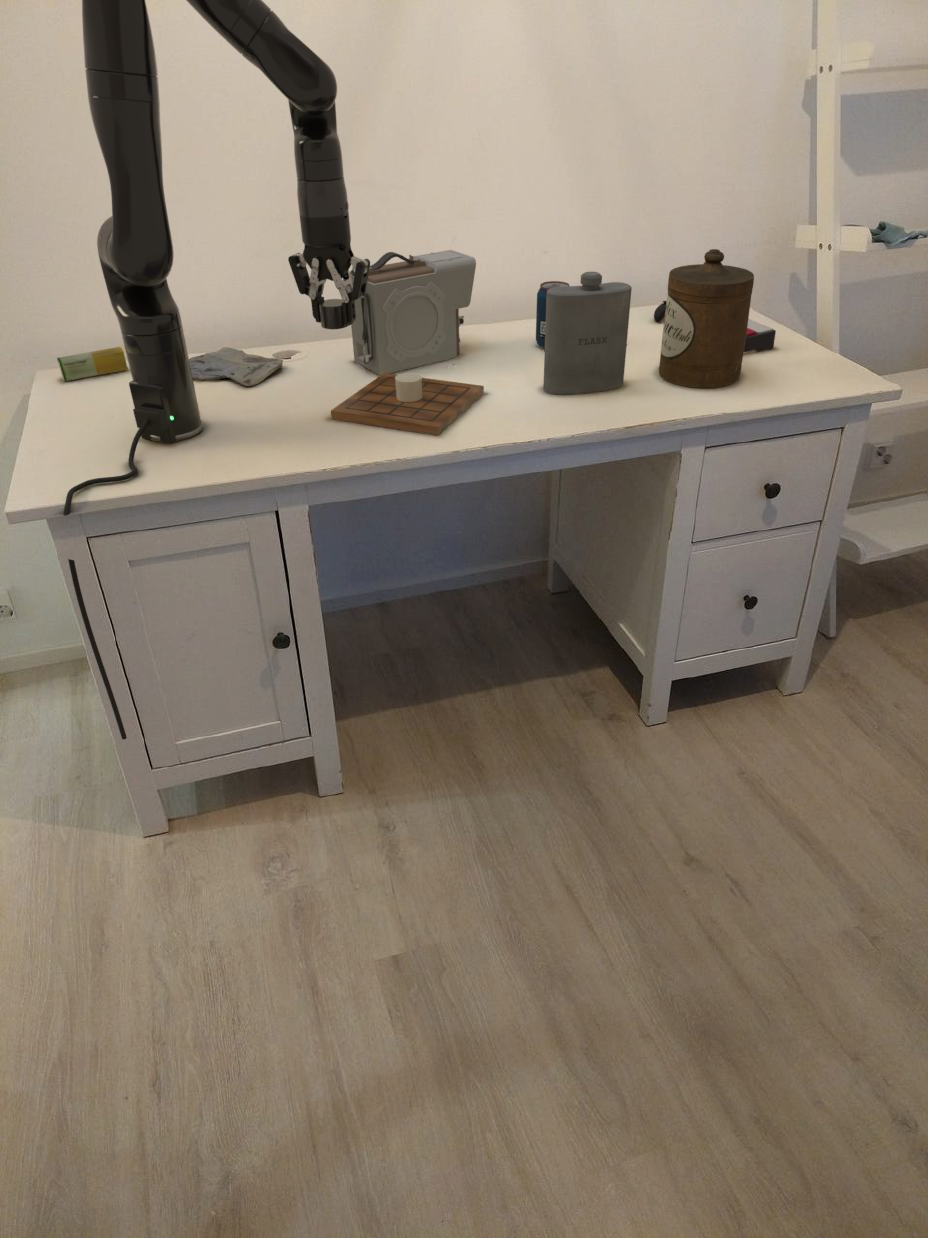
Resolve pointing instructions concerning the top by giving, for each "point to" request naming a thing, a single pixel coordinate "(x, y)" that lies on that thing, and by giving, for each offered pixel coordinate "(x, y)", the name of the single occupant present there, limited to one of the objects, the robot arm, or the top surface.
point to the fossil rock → (233, 366)
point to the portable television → (412, 310)
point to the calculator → (759, 337)
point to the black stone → (331, 314)
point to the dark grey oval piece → (660, 312)
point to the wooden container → (705, 323)
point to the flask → (586, 336)
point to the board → (408, 405)
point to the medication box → (92, 363)
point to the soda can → (543, 310)
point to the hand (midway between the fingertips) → (335, 322)
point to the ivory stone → (408, 387)
